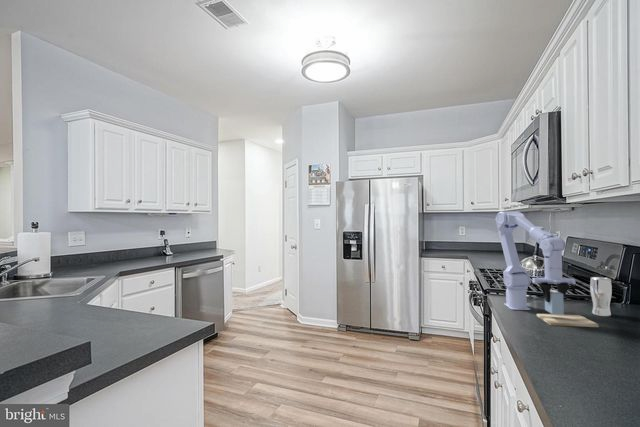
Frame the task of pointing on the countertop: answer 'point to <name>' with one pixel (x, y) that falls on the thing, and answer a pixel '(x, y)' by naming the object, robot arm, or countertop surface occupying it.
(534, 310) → the countertop surface
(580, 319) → the board
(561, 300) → the slab
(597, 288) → the beer glass
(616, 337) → the countertop surface
